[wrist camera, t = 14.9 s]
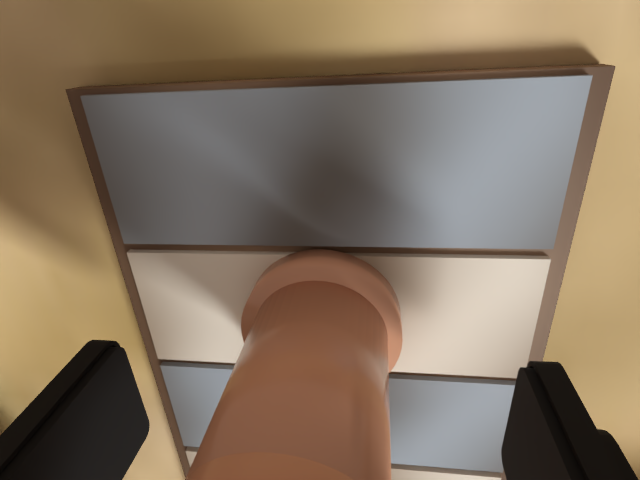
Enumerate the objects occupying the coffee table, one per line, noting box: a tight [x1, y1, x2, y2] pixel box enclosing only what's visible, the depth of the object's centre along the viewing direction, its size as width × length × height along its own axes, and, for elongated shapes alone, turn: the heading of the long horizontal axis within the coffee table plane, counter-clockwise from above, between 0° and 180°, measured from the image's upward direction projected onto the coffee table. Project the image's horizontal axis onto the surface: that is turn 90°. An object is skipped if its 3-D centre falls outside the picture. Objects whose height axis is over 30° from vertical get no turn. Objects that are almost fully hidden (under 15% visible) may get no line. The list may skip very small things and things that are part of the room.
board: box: [66, 64, 615, 480], centre depth 14 cm, size 13×18×1 cm
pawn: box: [185, 249, 403, 480], centre depth 9 cm, size 5×5×8 cm
